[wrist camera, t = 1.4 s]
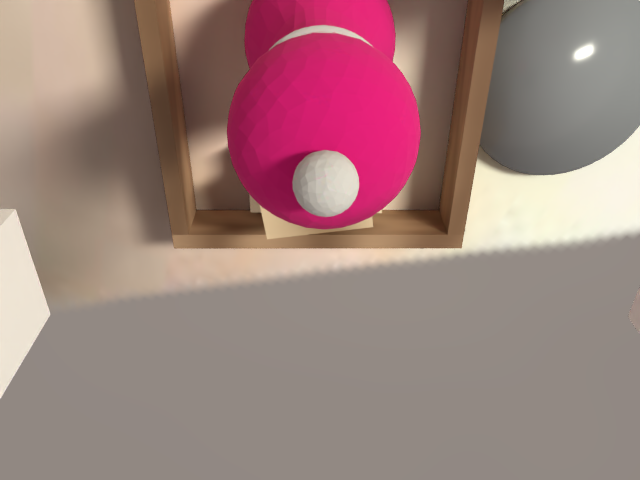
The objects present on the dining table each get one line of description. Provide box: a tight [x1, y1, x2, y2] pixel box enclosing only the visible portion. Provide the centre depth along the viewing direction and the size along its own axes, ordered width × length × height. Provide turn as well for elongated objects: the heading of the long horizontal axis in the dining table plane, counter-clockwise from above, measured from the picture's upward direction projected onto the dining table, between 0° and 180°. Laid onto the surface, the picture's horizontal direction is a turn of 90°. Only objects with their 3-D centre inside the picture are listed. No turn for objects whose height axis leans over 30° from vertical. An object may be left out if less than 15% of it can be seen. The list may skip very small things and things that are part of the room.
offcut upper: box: [260, 206, 373, 239], centre depth 32 cm, size 6×3×3 cm, turn 97°
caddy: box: [134, 0, 504, 248], centre depth 32 cm, size 18×19×3 cm
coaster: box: [480, 0, 640, 175], centre depth 33 cm, size 11×11×1 cm
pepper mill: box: [227, 0, 421, 229], centre depth 23 cm, size 7×7×20 cm
